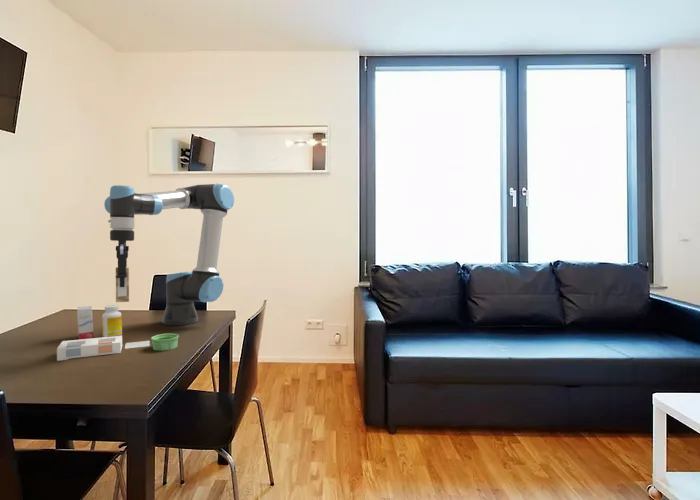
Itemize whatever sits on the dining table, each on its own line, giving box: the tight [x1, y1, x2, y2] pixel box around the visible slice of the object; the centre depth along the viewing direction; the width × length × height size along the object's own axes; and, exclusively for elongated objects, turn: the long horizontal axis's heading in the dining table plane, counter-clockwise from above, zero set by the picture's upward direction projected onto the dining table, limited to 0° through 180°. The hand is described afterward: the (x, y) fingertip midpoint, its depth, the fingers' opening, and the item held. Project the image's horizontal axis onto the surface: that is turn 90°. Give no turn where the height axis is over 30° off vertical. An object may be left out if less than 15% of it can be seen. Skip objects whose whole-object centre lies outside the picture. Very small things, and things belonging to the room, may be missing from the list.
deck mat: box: [124, 340, 151, 350], centre depth 152 cm, size 8×8×1 cm
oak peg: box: [115, 266, 130, 303], centre depth 147 cm, size 4×4×12 cm
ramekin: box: [150, 333, 179, 352], centre depth 148 cm, size 9×9×4 cm
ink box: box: [76, 305, 94, 340], centre depth 162 cm, size 9×5×12 cm, turn 34°
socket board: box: [56, 335, 123, 362], centre depth 142 cm, size 18×10×4 cm, turn 116°
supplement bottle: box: [101, 304, 123, 337], centre depth 161 cm, size 7×7×13 cm
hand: (122, 295), depth 147 cm, fingers closed on oak peg, 4 cm apart
